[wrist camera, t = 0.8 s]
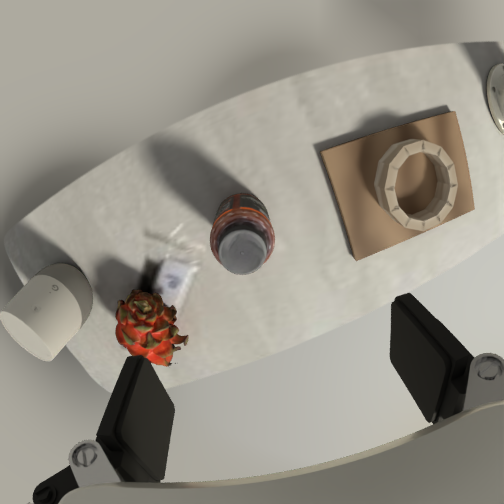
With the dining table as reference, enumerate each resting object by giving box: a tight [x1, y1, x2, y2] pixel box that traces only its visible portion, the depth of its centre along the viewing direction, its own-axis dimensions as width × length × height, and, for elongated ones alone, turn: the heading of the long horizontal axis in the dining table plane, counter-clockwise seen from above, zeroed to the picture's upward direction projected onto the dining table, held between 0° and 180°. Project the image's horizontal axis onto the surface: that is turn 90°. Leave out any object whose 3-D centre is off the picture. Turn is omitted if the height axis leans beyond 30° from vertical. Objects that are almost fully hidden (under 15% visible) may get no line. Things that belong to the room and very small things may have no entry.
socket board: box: [320, 111, 475, 261], centre depth 32 cm, size 20×14×4 cm
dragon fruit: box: [116, 290, 188, 366], centre depth 37 cm, size 8×8×12 cm
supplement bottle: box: [210, 194, 275, 275], centre depth 30 cm, size 6×6×11 cm
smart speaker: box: [0, 263, 93, 361], centre depth 32 cm, size 10×9×14 cm
